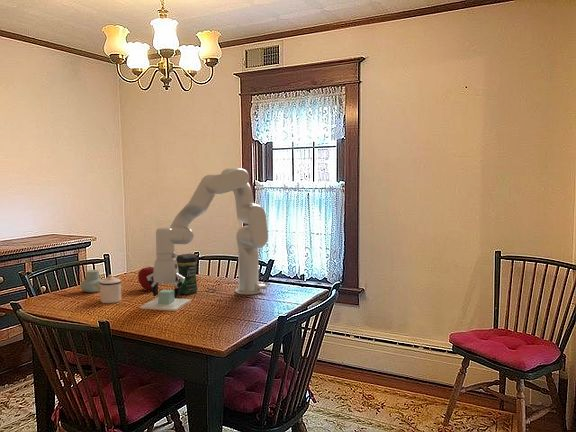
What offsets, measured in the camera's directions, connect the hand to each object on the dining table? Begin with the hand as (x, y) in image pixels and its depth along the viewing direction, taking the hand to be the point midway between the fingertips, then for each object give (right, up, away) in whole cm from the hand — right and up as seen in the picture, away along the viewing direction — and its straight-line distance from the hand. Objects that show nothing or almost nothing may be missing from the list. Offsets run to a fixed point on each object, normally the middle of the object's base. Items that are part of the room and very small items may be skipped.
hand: (166, 296), depth 215 cm
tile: (0, -4, 0) cm, 4 cm away
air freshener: (-41, -2, +24) cm, 48 cm away
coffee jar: (+5, -2, +22) cm, 22 cm away
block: (0, -3, 0) cm, 3 cm away
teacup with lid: (-27, -3, +7) cm, 28 cm away
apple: (-15, -2, +28) cm, 31 cm away
